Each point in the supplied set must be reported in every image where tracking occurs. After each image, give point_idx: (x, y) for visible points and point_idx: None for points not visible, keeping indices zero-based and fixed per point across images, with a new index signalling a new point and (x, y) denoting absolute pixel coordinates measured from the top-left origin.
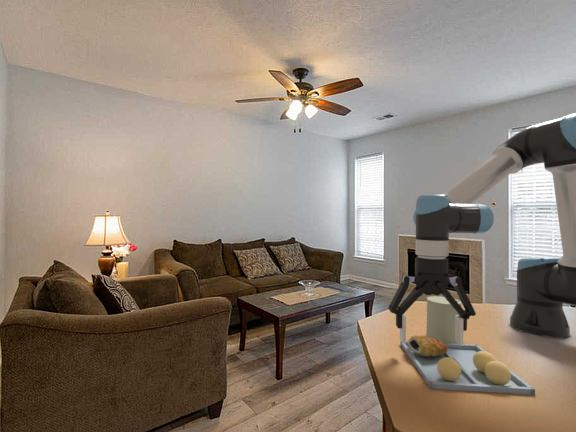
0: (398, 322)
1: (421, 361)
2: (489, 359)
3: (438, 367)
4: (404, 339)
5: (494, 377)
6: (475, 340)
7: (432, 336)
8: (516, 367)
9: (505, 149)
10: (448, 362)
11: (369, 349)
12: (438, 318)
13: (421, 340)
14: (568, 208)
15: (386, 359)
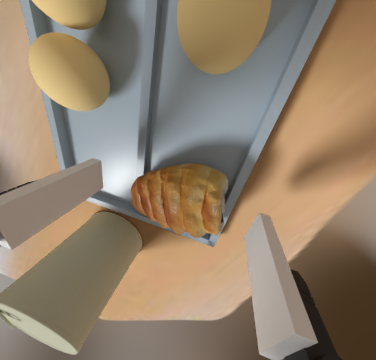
0: (309, 302)
1: (223, 162)
2: (47, 35)
3: (268, 17)
4: (266, 222)
5: None
6: (66, 217)
7: (133, 241)
8: (29, 110)
9: None
10: None
11: (298, 248)
12: (94, 274)
13: (204, 205)
14: None
15: (298, 200)
